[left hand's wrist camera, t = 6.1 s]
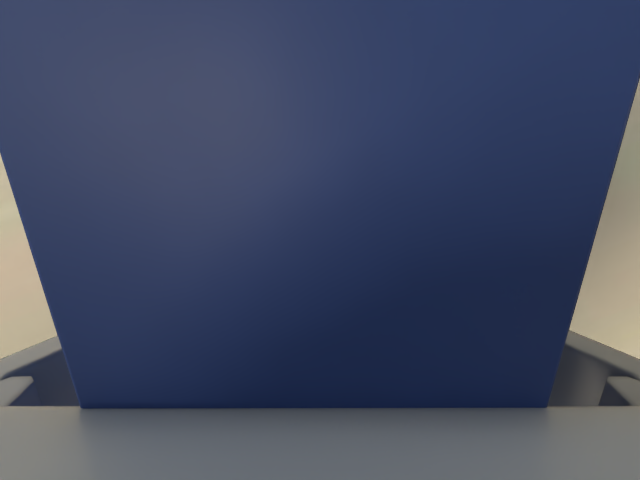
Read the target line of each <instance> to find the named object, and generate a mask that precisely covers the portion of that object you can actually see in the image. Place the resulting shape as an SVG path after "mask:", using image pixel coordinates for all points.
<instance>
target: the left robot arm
mask: <svg viewBox="0 0 640 480" xmlns="http://www.w3.org/2000/svg"><path fill="white" fill-rule="evenodd" d="M0 480H640V359H638V358H635V357H633V356H630V355H628V354H626V353H623V352H621V351H618V350H616V349H614V348H611V347H609V346H606V345H604V344H601V343H599V342H597V341H594V340H592V339H589V338H587V337H585V336H582V335H580V334H577V333H575V332H572V331H570V330H569V331H568V335H567V338H566V342H565V345H564V349H563V352H562V356H561V359H560V363H559V367H558V370H557V374H556V377H555V381H554V384H553V388H552V391H551V395H550V399H549V402H548V406H547V407H546V408H135V409H83V408H80V405H79V402H78V398H77V395H76V392H75V389H74V386H73V382H72V379H71V376H70V373H69V370H68V367H67V363H66V360H65V357H64V354H63V351H62V347H61V344H60V341H59V338H58V336H55V337H53V338H51V339H48V340H46V341H43V342H41V343H38V344H36V345H34V346H31V347H29V348H26V349H24V350H22V351H19V352H17V353H14V354H12V355H9V356H7V357H5V358H2V359H0Z"/></svg>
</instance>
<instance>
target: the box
mask: <svg viewBox="0 0 640 480" xmlns="http://www.w3.org/2000/svg"><path fill="white" fill-rule="evenodd" d="M639 78H640V0H0V153H1V156H2V160H3V163H4V166H5V169H6V172H7V176H8V179H9V182H10V185H11V188H12V191H13V195H14V198H15V201H16V204H17V207H18V211H19V214H20V217H21V220H22V223H23V226H24V230H25V233H26V236H27V239H28V242H29V246H30V249H31V252H32V255H33V258H34V261H35V265H36V268H37V271H38V274H39V277H40V281H41V284H42V287H43V290H44V293H45V296H46V300H47V303H48V306H49V309H50V312H51V316H52V319H53V322H54V325H55V328H56V331H57V335H58V338H59V341H60V344H61V347H62V351H63V354H64V357H65V360H66V363H67V367H68V370H69V373H70V376H71V379H72V382H73V386H74V389H75V392H76V395H77V398H78V402H79V405H80V408H83V409H135V408H546V407H547V406H548V402H549V399H550V395H551V391H552V388H553V384H554V381H555V377H556V374H557V370H558V367H559V363H560V359H561V356H562V352H563V349H564V345H565V342H566V338H567V335H568V331H569V327H570V324H571V320H572V317H573V313H574V310H575V306H576V302H577V299H578V295H579V292H580V288H581V285H582V281H583V278H584V274H585V270H586V267H587V263H588V260H589V256H590V253H591V249H592V246H593V242H594V238H595V235H596V231H597V228H598V224H599V221H600V217H601V214H602V210H603V206H604V203H605V199H606V196H607V192H608V189H609V185H610V182H611V178H612V174H613V171H614V167H615V164H616V160H617V157H618V153H619V150H620V146H621V142H622V139H623V135H624V132H625V128H626V125H627V121H628V118H629V114H630V110H631V107H632V103H633V100H634V96H635V93H636V89H637V86H638V82H639Z"/></svg>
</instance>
